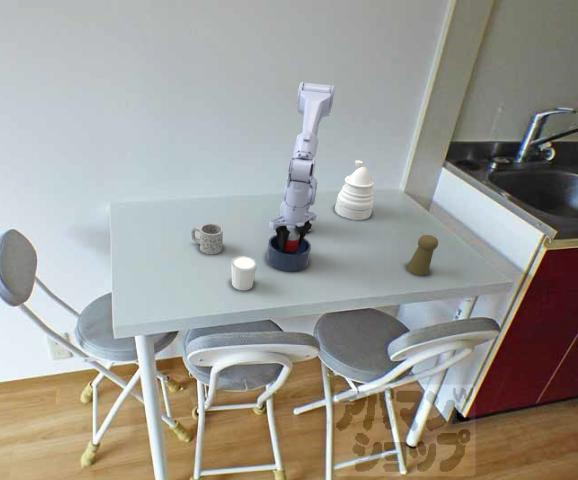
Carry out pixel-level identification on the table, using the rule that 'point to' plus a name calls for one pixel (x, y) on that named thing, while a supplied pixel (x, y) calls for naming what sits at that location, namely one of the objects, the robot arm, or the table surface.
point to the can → (292, 242)
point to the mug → (209, 238)
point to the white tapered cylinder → (243, 272)
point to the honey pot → (356, 195)
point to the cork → (423, 255)
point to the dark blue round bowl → (288, 256)
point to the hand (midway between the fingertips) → (289, 246)
